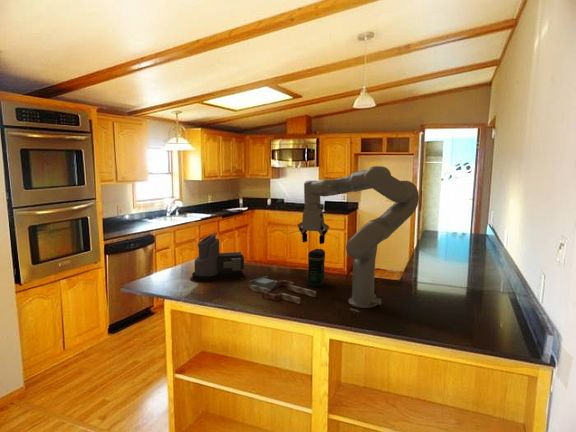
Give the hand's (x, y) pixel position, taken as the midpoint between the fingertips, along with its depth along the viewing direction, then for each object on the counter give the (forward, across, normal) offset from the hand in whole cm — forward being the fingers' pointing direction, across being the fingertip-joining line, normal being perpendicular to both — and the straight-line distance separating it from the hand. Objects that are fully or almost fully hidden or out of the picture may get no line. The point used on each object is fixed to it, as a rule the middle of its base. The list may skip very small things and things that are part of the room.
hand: (313, 242), depth 183 cm
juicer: (+22, +56, +11) cm, 61 cm away
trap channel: (+24, +12, +9) cm, 29 cm away
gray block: (+24, +24, +9) cm, 35 cm away
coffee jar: (+25, +7, -13) cm, 29 cm away
